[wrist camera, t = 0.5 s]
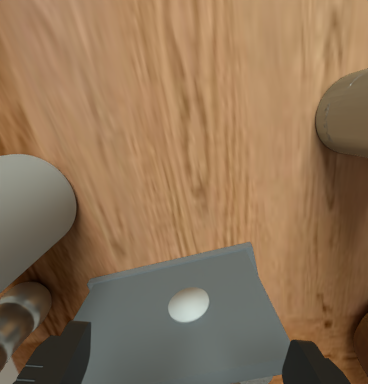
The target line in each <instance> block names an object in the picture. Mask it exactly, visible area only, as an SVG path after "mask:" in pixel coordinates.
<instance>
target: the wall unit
mask: <svg viewBox="0 0 368 384" xmlns="http://www.w3.org/2000/svg"><path fill="white" fill-rule="evenodd" d="M87 286H88V288H89V290H90V292H89V294H88V295H87V297H86V299H85V301H84V302H83V304H82V306H81V307H80V309H79V311H78V313H77V314H76V316H75V318H74V319H73V321H85V322H91V349H90V358H89V363H88V366H87V370H86V373H85V375H84V378H83V381H82V383H81V384H232V383H237V382H243V381H248V380H253V379H259V378H264V377H270V376H275V375H281V374H282V368H283V364H284V361H285V358H286V354H287V351H288V348H289V345H290V340H289V338H288V336H287V334H286V332H285V330H284V328H283V326H282V324H281V322H280V320H279V318H278V316H277V314H276V312H275V309H274V307H273V305H272V303H271V301H270V299H269V297H268V295H267V293H266V291H265V289H264V287H263V285H262V283H261V281H260V279H259V277H258V272H257V267H256V262H255V257H254V252H253V247H252V245H251V243H250V242H247V243H243V244H239V245H234V246H230V247H226V248H221V249H217V250H213V251H208V252H204V253H200V254H195V255H191V256H187V257H182V258H178V259H174V260H169V261H165V262H161V263H156V264H152V265H148V266H143V267H139V268H135V269H130V270H126V271H122V272H117V273H113V274H109V275H104V276H100V277H96V278H91V279H90V280H89V282H88V283H87Z"/></svg>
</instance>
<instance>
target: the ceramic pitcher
mask: <svg viewBox="0 0 368 384" xmlns="http://www.w3.org/2000/svg"><path fill="white" fill-rule="evenodd" d="M353 343H354V349H355V353H356V355H357V357H358V360H359V362H360V364H361V366H362V368H363V369H364V371H365V373H366V375H367V376H368V313H367V314H366V315H365V316H364V317H363V318H362V320H361V321H360V323H359V325H358V327H357V329H356V331H355V334H354V338H353Z"/></svg>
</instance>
